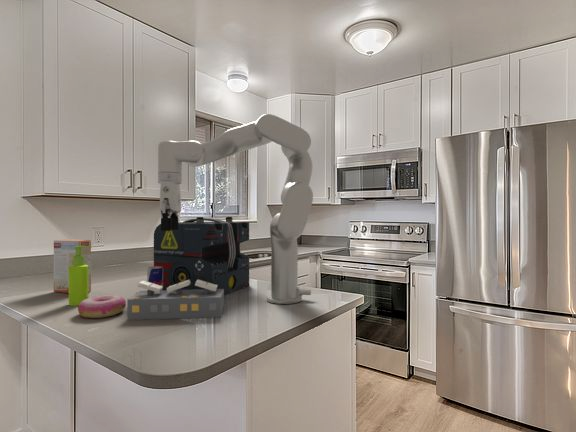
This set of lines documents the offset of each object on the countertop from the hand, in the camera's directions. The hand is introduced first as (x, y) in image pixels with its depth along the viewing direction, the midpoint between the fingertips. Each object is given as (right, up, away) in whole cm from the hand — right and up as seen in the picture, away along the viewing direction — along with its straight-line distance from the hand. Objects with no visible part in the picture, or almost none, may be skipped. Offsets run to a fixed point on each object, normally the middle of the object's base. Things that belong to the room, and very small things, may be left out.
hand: (170, 230), depth 119 cm
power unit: (+5, -26, +28) cm, 38 cm away
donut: (-18, -26, -8) cm, 33 cm away
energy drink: (-8, -26, +8) cm, 28 cm away
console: (+5, -26, -7) cm, 27 cm away
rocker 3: (+14, -17, -7) cm, 23 cm away
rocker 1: (-3, -17, -8) cm, 19 cm away
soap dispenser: (-33, -26, +5) cm, 42 cm away
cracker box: (-47, -26, +23) cm, 58 cm away
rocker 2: (+5, -17, -7) cm, 19 cm away
